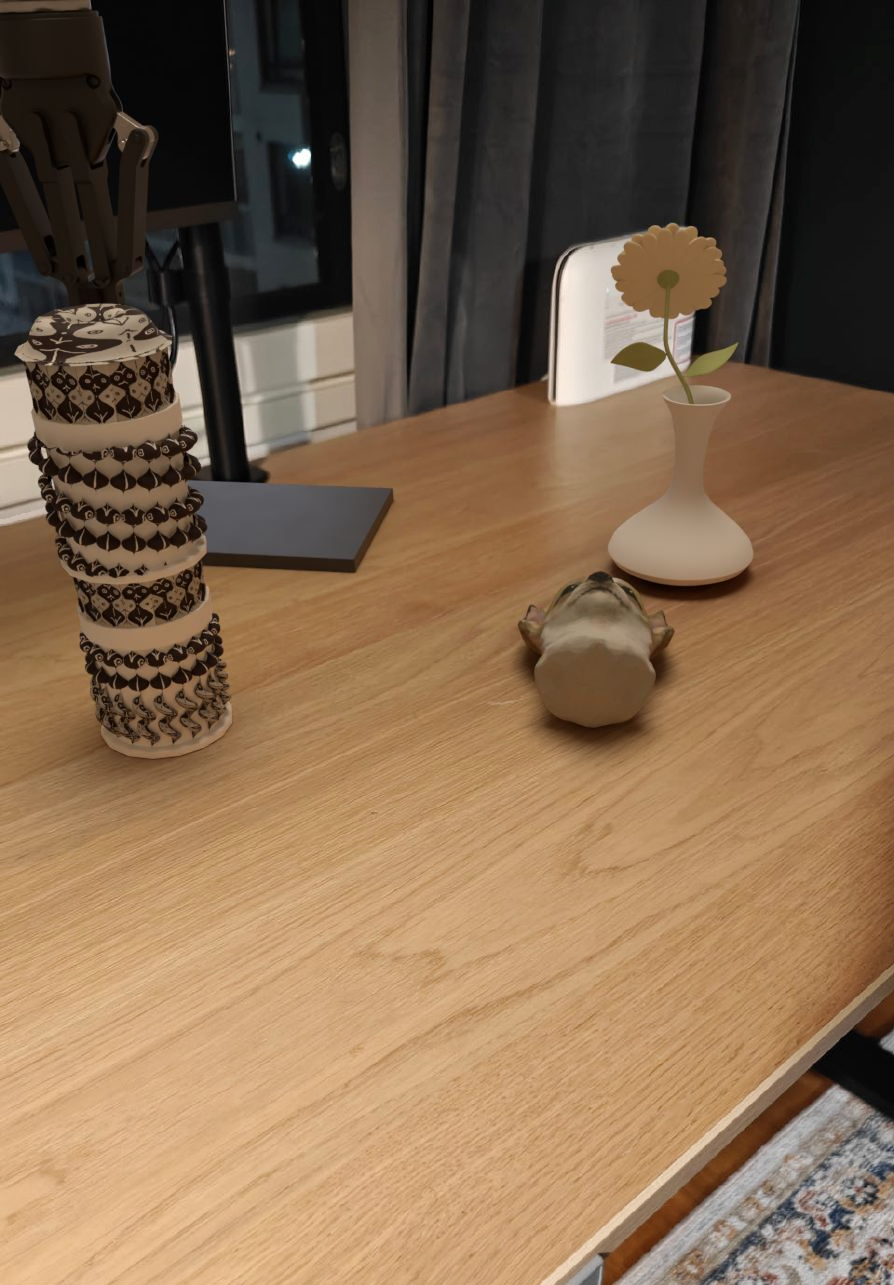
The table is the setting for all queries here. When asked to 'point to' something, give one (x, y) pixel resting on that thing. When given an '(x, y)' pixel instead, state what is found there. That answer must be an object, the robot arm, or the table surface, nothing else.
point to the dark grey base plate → (290, 524)
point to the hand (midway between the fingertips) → (110, 373)
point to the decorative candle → (128, 526)
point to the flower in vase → (678, 417)
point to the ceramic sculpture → (595, 650)
